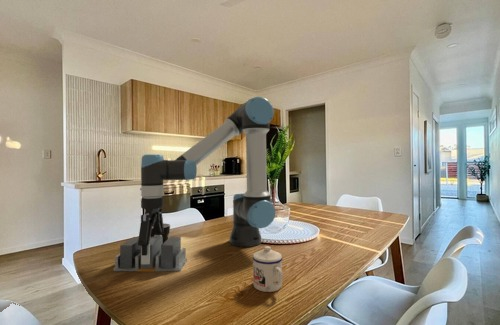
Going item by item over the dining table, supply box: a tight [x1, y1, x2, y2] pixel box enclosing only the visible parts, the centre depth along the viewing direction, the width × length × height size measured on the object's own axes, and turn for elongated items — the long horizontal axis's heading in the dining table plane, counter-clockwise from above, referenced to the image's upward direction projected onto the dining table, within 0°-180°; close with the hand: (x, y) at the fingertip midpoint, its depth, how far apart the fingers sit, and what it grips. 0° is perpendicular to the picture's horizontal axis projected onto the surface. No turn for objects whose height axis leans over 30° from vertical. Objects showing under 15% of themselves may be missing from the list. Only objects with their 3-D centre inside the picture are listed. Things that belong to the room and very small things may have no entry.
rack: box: [113, 236, 188, 273], centre depth 90 cm, size 23×10×9 cm, turn 90°
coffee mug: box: [150, 222, 171, 243], centre depth 110 cm, size 12×9×10 cm
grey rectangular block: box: [141, 237, 163, 268], centre depth 90 cm, size 4×10×8 cm, turn 0°
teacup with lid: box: [252, 245, 284, 293], centre depth 75 cm, size 12×9×12 cm
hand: (152, 257), depth 90 cm, fingers open, 11 cm apart
